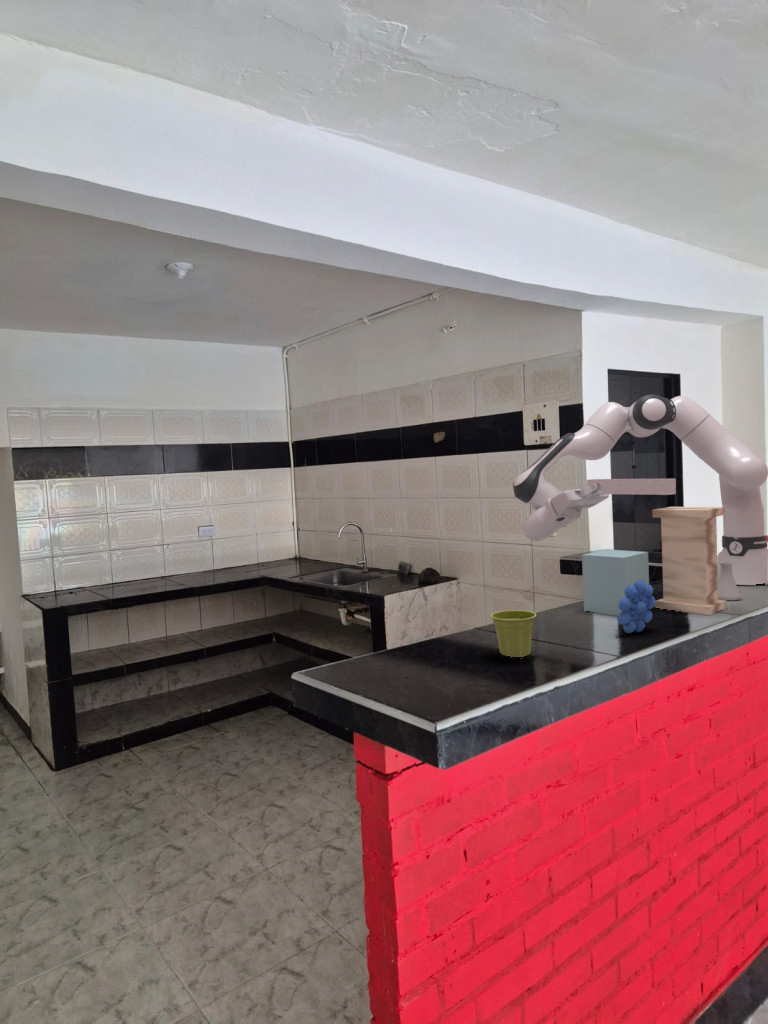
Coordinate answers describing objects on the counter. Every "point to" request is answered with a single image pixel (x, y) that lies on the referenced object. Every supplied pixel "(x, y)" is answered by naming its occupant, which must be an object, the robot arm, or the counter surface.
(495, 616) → the plant pot
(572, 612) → the counter surface
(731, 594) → the flask
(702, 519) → the birch stand
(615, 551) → the block
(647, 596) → the grapes
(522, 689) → the counter surface
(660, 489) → the pink bar
